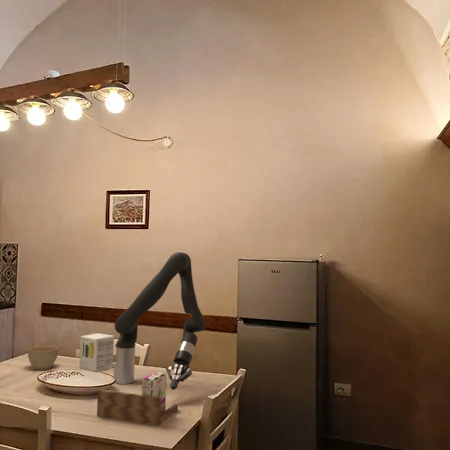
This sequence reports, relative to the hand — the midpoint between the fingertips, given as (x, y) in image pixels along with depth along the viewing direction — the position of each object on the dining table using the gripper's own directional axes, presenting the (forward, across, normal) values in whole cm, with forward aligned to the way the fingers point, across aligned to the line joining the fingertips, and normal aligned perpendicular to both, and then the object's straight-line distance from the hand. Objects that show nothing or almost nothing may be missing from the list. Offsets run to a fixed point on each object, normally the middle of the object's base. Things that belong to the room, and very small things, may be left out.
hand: (172, 388), depth 202 cm
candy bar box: (+17, -1, -7) cm, 18 cm away
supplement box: (-23, -64, +33) cm, 76 cm away
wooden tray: (+15, -8, -6) cm, 18 cm away
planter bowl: (-14, -90, +24) cm, 94 cm away
